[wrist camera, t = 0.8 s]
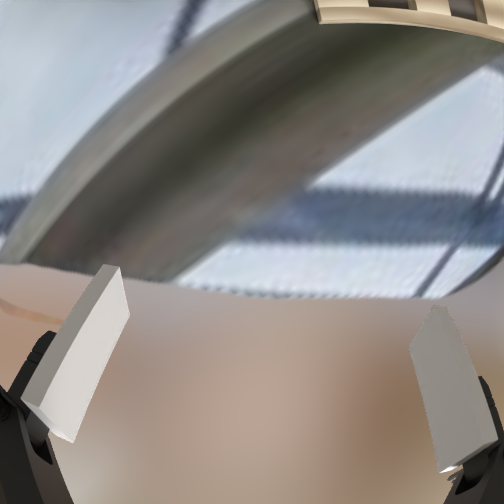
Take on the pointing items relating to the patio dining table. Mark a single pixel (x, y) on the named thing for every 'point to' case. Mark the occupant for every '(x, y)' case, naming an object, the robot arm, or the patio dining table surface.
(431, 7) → the square hole board
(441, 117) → the patio dining table surface
